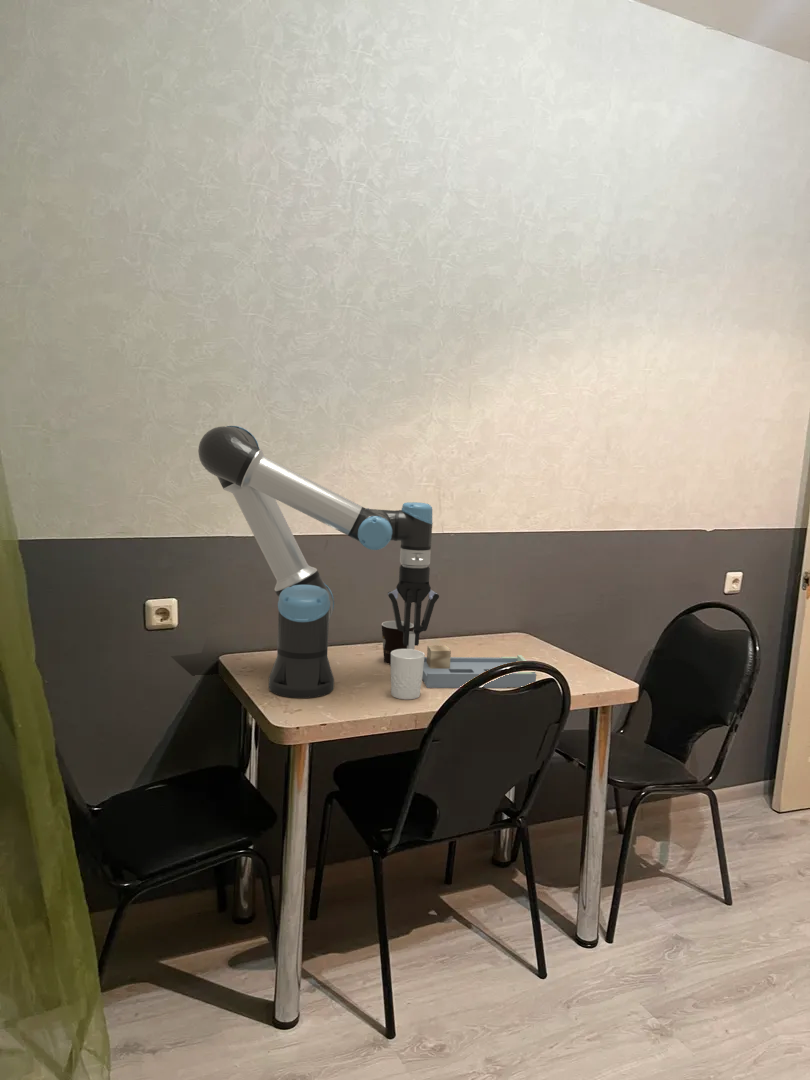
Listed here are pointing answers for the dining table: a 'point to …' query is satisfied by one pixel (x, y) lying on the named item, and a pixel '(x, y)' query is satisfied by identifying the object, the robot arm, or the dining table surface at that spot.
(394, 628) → the coffee mug
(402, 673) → the white cup
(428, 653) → the block
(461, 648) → the dining table surface
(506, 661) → the box
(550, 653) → the dining table surface
